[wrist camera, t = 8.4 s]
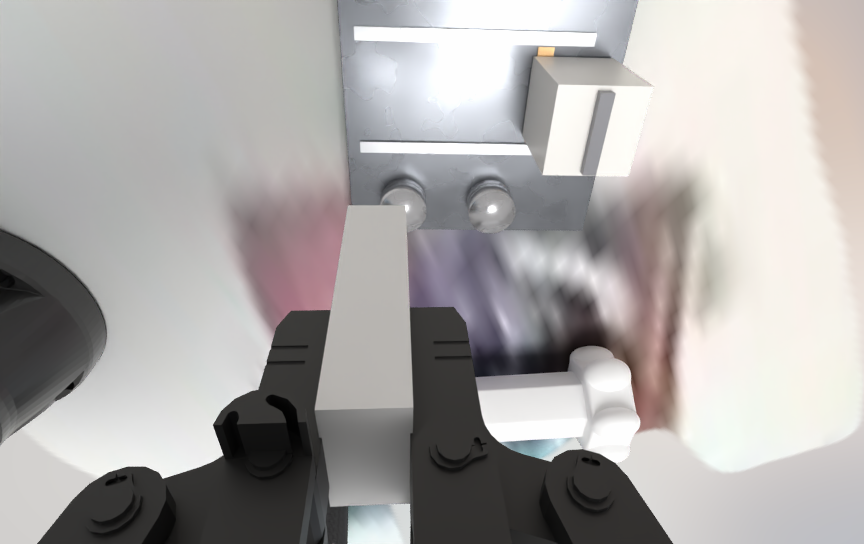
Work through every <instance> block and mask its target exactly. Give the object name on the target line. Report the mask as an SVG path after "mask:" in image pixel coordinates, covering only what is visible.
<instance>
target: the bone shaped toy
mask: <svg viewBox="0 0 864 544" xmlns="http://www.w3.org/2000/svg"><path fill="white" fill-rule="evenodd" d="M475 378H476V384H477V390H478V395H479V401H480V407H481V413H482V417H483V420H484V423H485V426H486V427H487V429H488V430H489V432H490V433H491V435H492V436H493V437H494V438H495V439H496V440H497V441H498V442H502V441H519V440H536V439H552V438H569V437H576V438H577V440H578V441H579V443H580V445H581V447H582V448H583V449H584V450H588V451H591V452H595V453H599V454H601V455H603V456H604V457H606V458H608V459H609V460H611V461H613V462H614V463H617V462H620V461H623V460H624V459H626V458H627V457H628V455H629V453H630V446H629V445H630V442H631V440H632V438H633V435H634V433H635V432H636V431H637V430H638V429H639V427H640V419H639V416H638V415H637V414H636V409H635V403H634V398H633V392H632V387H631V372H630V369H629V367H628V366H627V365H626V364H625V363H624V362H622V361H621V360H618V359H615V358H614V356H613V354H612V353H611V352H610V351H609V350H608V349H606V348H603V347H599V346H584V347H580V348H577V349H576V350H574V351H573V352H572V353H571V355H570V363H569V367H568V372H554V373H538V374H521V375H504V376H487V377H475Z"/></svg>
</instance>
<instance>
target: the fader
mask: <svg viewBox="0 0 864 544" xmlns="http://www.w3.org/2000/svg"><path fill="white" fill-rule="evenodd" d="M653 89H654V86H652V85H651V84H650V83H648V82H647V81H645V80H644V79H642V78H641V77H640V76H638V75H637V74H635V73H634V72H632V71H631V70H629V69H628V68H627V67H625V66H624V65H622V64H621V63H619V62H618V61H617V60H615V59H614V58H580V57H542V56H533V63H532V70H531V77H530V84H529V91H528V98H527V105H526V112H525V119H524V126H523V133H522V136H523V138H524V140H525V142H526V144H527V146H528V148H529V150H530V152H531V154H532V156H533V158H534V160H535V162H536V164H537V165H538V167H539V169H540V171H541V173H542V175H560V176H629V173H630V170H631V166H632V163H633V159H634V156H635V152H636V149H637V145H638V142H639V138H640V135H641V131H642V128H643V124H644V121H645V117H646V114H647V110H648V107H649V103H650V100H651V96H652V93H653Z"/></svg>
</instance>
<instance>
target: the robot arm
mask: <svg viewBox="0 0 864 544" xmlns="http://www.w3.org/2000/svg"><path fill="white" fill-rule="evenodd" d="M105 343H106V328H105V324H104V320H103V317H102V315H101V312H100V310H99V308H98V306H97V304H96V303H95V301H94V299H93V298H92V297H91V295H90V294H89V292H88V291H87V290H86V289H85V287H84V286H83V285H82V284H81V283H80V282H79V281H78V280H77V279H76V278H75V277H74V276H73V275H72V274H71V273H70V272H69V271H68V270H66V269H65V268H64V267H63V266H62V265H60V264H59V263H58V262H56V261H55V260H54V259H52V258H51V257H49V256H48V255H46V254H45V253H43V252H42V251H40V250H39V249H37V248H35V247H33V246H32V245H30V244H28V243H26V242H24V241H22V240H20V239H18V238H16V237H14V236H12V235H9V234H7V233H4V232H2V231H0V445H1V444H2V443H3V442H4V441H5V440H6V439H7V438H8V437H9V436H11V435H12V434H13V433H15V432H16V431H18V430H19V429H21V428H22V427H23V426H25V425H26V424H28V423H29V422H30V421H32V420H33V419H34V418H36V417H37V416H38V415H40V414H41V413H42V412H44V411H45V410H46V409H47V408H48V407H49V406H51V405H52V404H53V403H54V402H55V401H57V400H59V399H61V398H63V397H65V396H66V395H68V394H69V393H71V392H72V391H73V390H74V389H76V388H77V387H78V386H79V385H80V384H81V383H82V382H83V381H84V380H85V378H86V377H87V376H88V374H89V373H90V371H91V370H92V369H93V367H94V366H95V364H96V363H97V361H98V360H99V359H100V357H101V355H102V353H103V351H104V348H105ZM213 426H214V429H215V432H216V435H217V438H218V441H219V443H220V446H221V449H222V452H223V456H222V457H220V458H219V459H217V460H215V461H214V462H211V463H209V464H207V465H204V466H202V467H199V468H196V469H193V470H190V471H186V472H183V473H180V474H177V475H174V476H171V477H168V478H164V479H162V477H161V476H160V474H159V473H158V472H156V471H154V470H152V469H149V468H147V467H125V468H122V469H119V470H115V471H112V472H109V473H107V474H105V475H104V476H102V477H100V478H99V479H97V480H95V481H93V482H92V483H91V484H89V485H88V486H87V487H86V488H85V489H84V490H83V491H81V492H80V493H79V494H78V495H77V496H76V497H75V498H74V499H73V500H72V501H71V503H70V504H69V505H68V506H67V508H66V509H65V510H64V511H63V513H62V514H61V515H60V516H59V518H58V519H57V520H56V521H55V523H54V524H53V525H52V526H51V527H50V529H49V530H48V531H47V532H46V534H45V535H44V536H43V537H42V539H41V540H40V541H39V542H38V543H37V544H328V537H327V526H326V514H327V506H328V497H329V502H330V507H337V506H361V505H385V504H410V514H411V532H410V533H411V534H410V544H673V543H672V541H671V540H670V538H669V537H668V535H667V534H666V532H665V531H664V530H663V528H662V526H661V525H660V524H659V522H658V521H657V519H656V518H655V516H654V515H653V513H652V512H651V510H650V509H649V507H648V506H647V505H646V503H645V501H644V500H643V498H642V497H641V496H640V494H639V493H638V491H637V490H636V488H635V487H634V485H633V484H632V482H631V481H630V479H629V478H628V476H627V475H626V474H625V473H624V472H623V471H622V470H621V469H620V468H619V467H618V466H617V465H616V463H614V462H613V461H611V460H609V459H608V458H606V457H604V456H603V455H601V454H599V453H595V452H591V451H588V450H584V449H581V450H568V451H565V452H564V453H561V454H559V455H558V456H556V457H554V459H553V460H552V462H549V461H546V460H542V459H538V458H535V457H531V456H527V455H524V454H521V453H518V452H515V451H513V450H510V449H509V448H507V447H506V446H504V445H502V444H501V443H499V442H498V441H497V440H496V439H495V438H494V437H493V436H492V435H491V433H490V432H489V430H488V429H487V427H486V426H485V423H484V420H483V417H482V413H481V407H480V401H479V395H478V390H477V384H476V378H475V373H474V367H473V361H472V355H471V350H470V344H469V338H468V332H467V327H466V322H465V321H464V320H463V318H462V317H461V316H460V315H459V313H458V312H457V311H456V309H455V308H454V307H424V308H410V306H409V279H408V252H407V226H406V205H348V208H347V214H346V220H345V226H344V232H343V239H342V245H341V251H340V257H339V263H338V269H337V275H336V282H335V288H334V294H333V300H332V306H331V310H316V311H291V312H290V313H289V314H288V315H287V316H286V317H285V318H284V319H283V321H282V322H281V323H280V324H279V325H278V326H277V328H276V331H275V335H274V338H273V342H272V345H271V350H270V352H269V355H268V359H267V365H266V366H265V369H264V373H263V376H262V380H261V383H260V387H259V390H256V391H251V392H249V393H247V394H245V395H242V396H240V397H238V398H236V399H234V400H233V401H232V402H231V403H230V404H229V405H227V406H226V407H225V408H224V409H223V410H222V411H221V412H220V414H219V416H218V417H217V419H216V421H215V422H214V424H213Z"/></svg>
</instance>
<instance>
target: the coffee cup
mask: <svg viewBox="0 0 864 544" xmlns="http://www.w3.org/2000/svg"><path fill="white" fill-rule="evenodd" d="M326 526H327V537H328V544H347V538H348V506H337V507H330V502H329V497H328V506H327V514H326Z"/></svg>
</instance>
